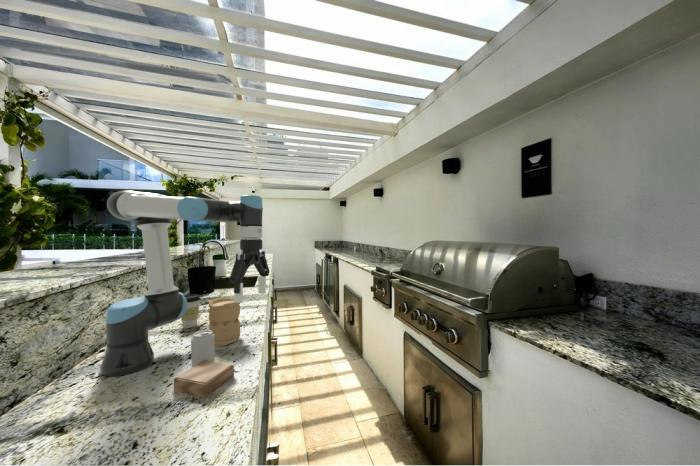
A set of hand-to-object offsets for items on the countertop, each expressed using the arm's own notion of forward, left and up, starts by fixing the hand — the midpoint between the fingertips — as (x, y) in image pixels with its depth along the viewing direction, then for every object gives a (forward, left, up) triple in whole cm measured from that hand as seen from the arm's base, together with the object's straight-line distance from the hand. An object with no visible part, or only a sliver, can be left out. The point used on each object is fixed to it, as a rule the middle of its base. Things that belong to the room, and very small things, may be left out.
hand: (251, 297), depth 98 cm
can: (-17, -4, -25) cm, 31 cm away
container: (-25, +16, -25) cm, 39 cm away
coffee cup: (-56, +27, -25) cm, 67 cm away
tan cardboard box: (-7, -14, -25) cm, 29 cm away
